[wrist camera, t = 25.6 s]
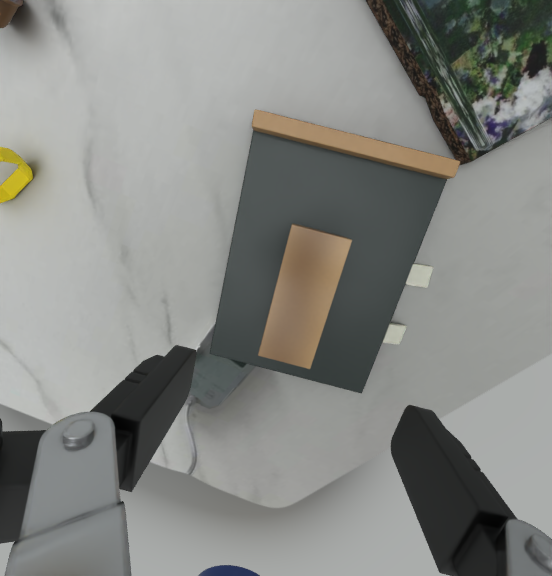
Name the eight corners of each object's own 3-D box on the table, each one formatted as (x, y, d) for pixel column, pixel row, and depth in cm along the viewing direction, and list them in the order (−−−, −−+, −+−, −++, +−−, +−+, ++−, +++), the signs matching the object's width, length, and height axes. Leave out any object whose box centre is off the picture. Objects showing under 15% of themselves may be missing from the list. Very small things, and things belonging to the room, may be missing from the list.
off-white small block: (396, 342, 26) (399, 344, 26) (380, 340, 26) (382, 343, 25) (404, 324, 26) (407, 326, 25) (387, 322, 25) (389, 324, 25)
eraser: (343, 235, 23) (352, 239, 19) (308, 346, 26) (310, 369, 22) (292, 222, 23) (291, 224, 19) (263, 334, 26) (257, 355, 22)
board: (359, 386, 28) (364, 400, 26) (213, 348, 28) (206, 359, 26) (445, 166, 22) (461, 161, 20) (258, 119, 22) (254, 108, 20)
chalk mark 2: (425, 287, 25) (427, 288, 24) (403, 283, 25) (405, 284, 24) (431, 266, 24) (433, 266, 24) (409, 262, 24) (411, 263, 24)
